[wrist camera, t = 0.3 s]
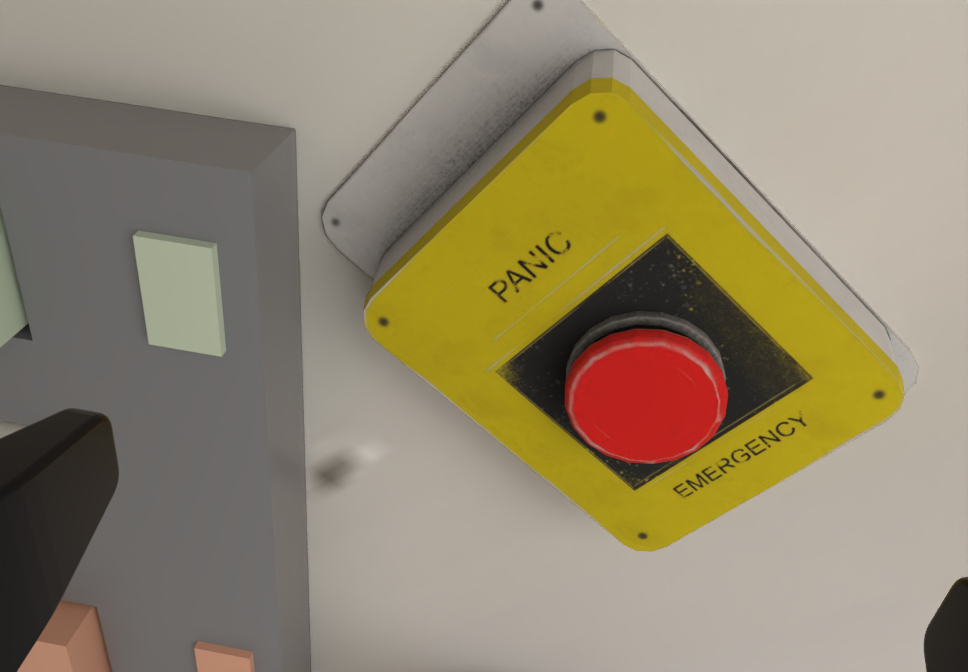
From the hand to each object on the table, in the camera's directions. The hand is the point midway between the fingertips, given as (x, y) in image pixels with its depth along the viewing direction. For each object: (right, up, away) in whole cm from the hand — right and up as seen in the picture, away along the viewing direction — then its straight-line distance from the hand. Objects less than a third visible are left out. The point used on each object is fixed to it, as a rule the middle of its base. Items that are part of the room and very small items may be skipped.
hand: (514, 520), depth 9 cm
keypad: (-13, -1, +20) cm, 24 cm away
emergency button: (+3, +3, +15) cm, 16 cm away
